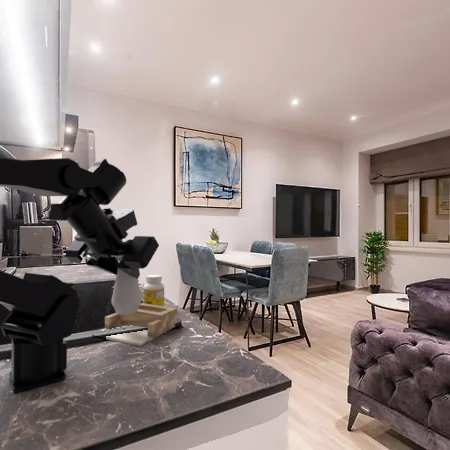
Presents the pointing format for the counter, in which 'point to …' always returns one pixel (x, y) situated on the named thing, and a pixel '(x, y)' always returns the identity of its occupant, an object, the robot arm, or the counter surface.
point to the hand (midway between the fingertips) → (130, 276)
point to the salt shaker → (126, 293)
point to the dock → (142, 323)
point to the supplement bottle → (153, 290)
